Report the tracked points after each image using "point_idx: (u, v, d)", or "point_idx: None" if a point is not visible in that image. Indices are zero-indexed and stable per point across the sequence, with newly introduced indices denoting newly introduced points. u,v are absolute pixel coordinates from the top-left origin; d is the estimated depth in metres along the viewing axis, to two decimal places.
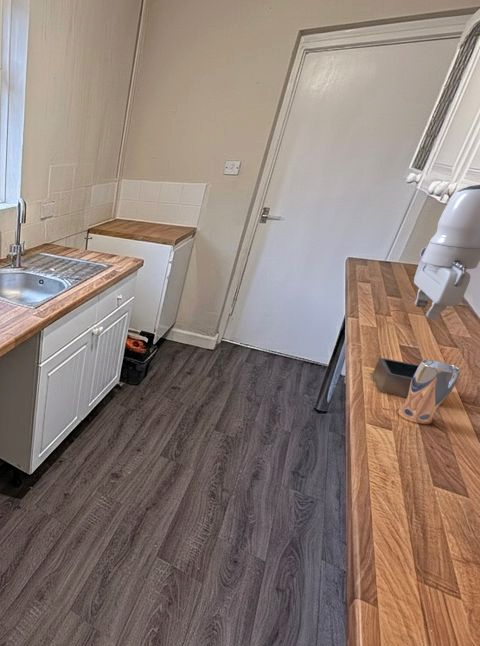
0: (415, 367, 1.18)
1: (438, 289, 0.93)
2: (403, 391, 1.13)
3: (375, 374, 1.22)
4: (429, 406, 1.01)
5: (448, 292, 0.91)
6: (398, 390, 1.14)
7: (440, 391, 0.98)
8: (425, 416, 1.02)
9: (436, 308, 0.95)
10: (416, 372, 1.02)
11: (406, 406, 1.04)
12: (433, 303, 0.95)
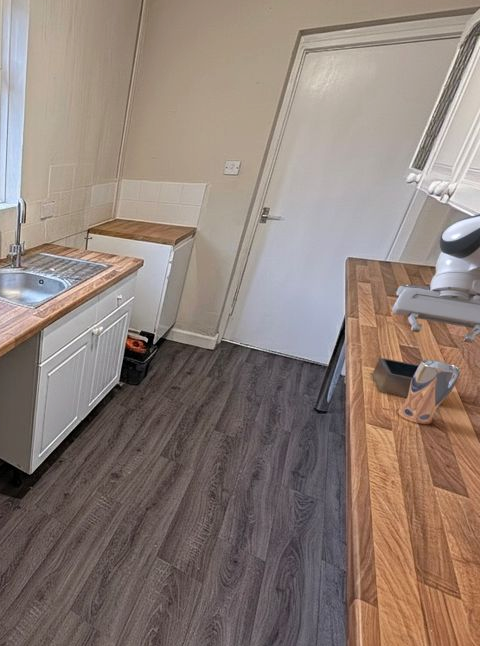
0: (415, 367, 1.18)
1: None
2: (403, 391, 1.13)
3: (375, 374, 1.22)
4: (429, 406, 1.01)
5: (395, 302, 1.14)
6: (398, 390, 1.14)
7: (440, 391, 0.98)
8: (425, 416, 1.02)
9: (410, 320, 1.11)
10: (416, 372, 1.02)
11: (406, 406, 1.04)
12: None
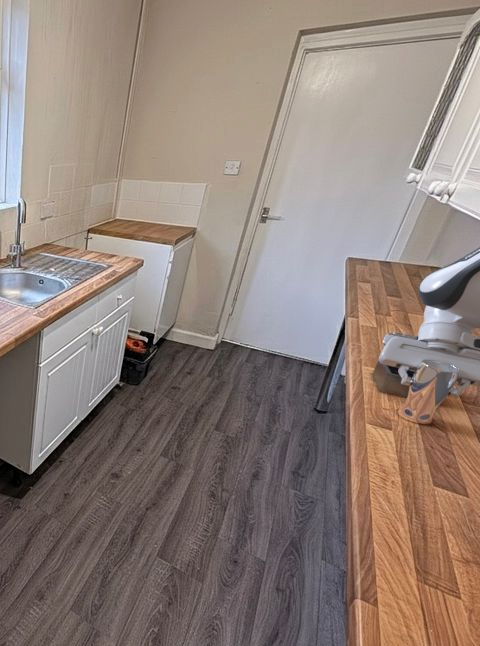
0: None
1: None
2: (403, 391, 1.13)
3: (375, 374, 1.22)
4: (429, 407, 1.01)
5: None
6: (398, 390, 1.14)
7: (440, 391, 0.98)
8: (425, 416, 1.02)
9: (400, 372, 1.05)
10: (416, 372, 1.02)
11: (406, 406, 1.04)
12: None
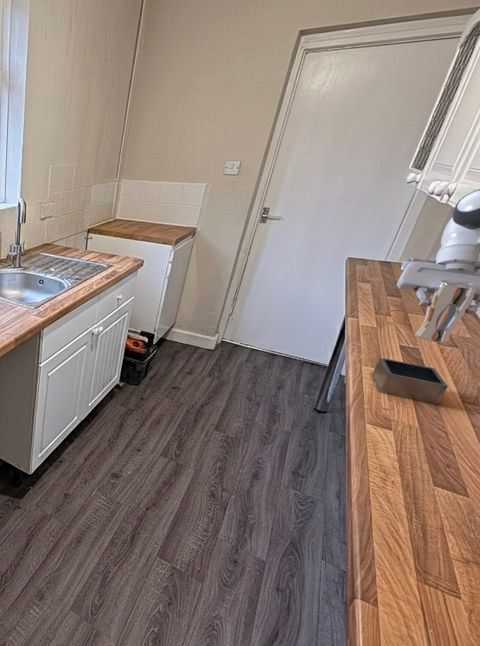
0: (415, 367, 1.18)
1: None
2: (403, 391, 1.13)
3: (375, 374, 1.22)
4: (447, 324, 1.04)
5: None
6: (398, 390, 1.14)
7: (458, 307, 1.02)
8: (443, 334, 1.05)
9: (418, 295, 1.09)
10: (434, 292, 1.05)
11: (424, 327, 1.08)
12: None
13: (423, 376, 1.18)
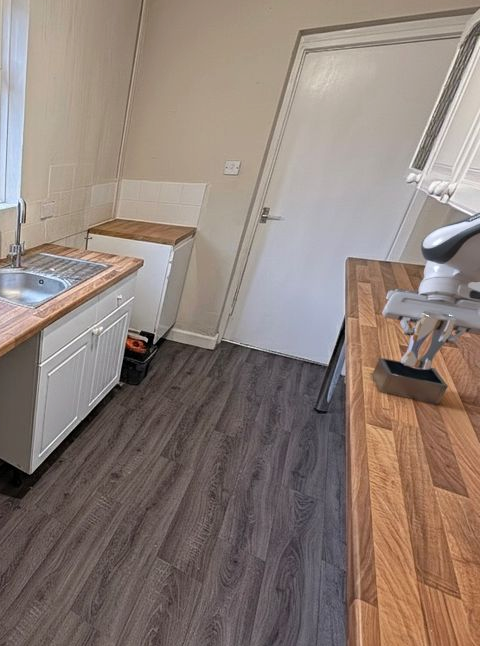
0: None
1: None
2: (403, 391, 1.13)
3: (375, 374, 1.22)
4: (428, 353, 1.10)
5: (385, 306, 1.19)
6: (398, 390, 1.14)
7: (438, 338, 1.07)
8: (425, 362, 1.11)
9: (401, 324, 1.15)
10: (416, 322, 1.11)
11: (407, 354, 1.14)
12: None
13: (423, 376, 1.18)
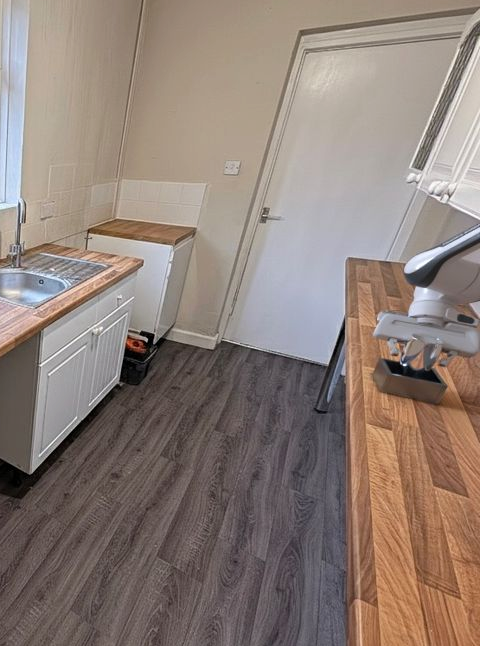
0: None
1: None
2: (403, 391, 1.13)
3: (375, 374, 1.22)
4: (417, 375, 1.13)
5: None
6: (398, 390, 1.14)
7: (427, 361, 1.10)
8: None
9: (389, 345, 1.18)
10: (405, 345, 1.14)
11: None
12: None
13: None
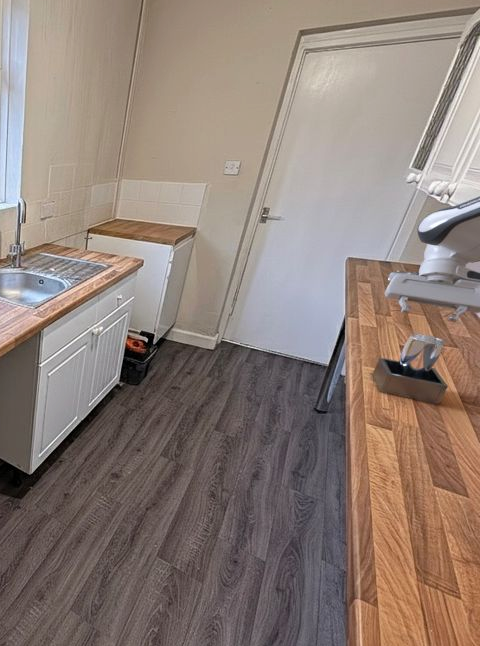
0: None
1: None
2: (403, 391, 1.13)
3: (375, 374, 1.22)
4: (417, 375, 1.13)
5: (387, 287, 1.25)
6: (398, 390, 1.14)
7: (427, 361, 1.10)
8: None
9: (400, 303, 1.22)
10: (405, 345, 1.14)
11: None
12: None
13: None
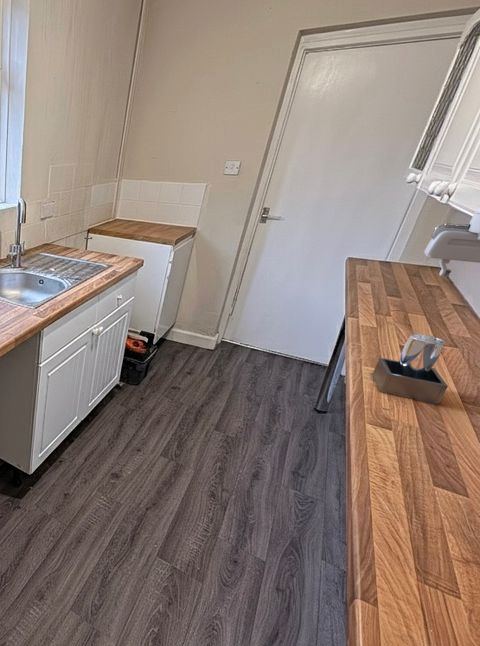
0: None
1: None
2: (403, 391, 1.13)
3: (375, 374, 1.22)
4: (417, 375, 1.13)
5: (428, 244, 1.13)
6: (398, 390, 1.14)
7: (427, 361, 1.10)
8: None
9: (440, 264, 1.12)
10: (405, 345, 1.14)
11: None
12: None
13: None
